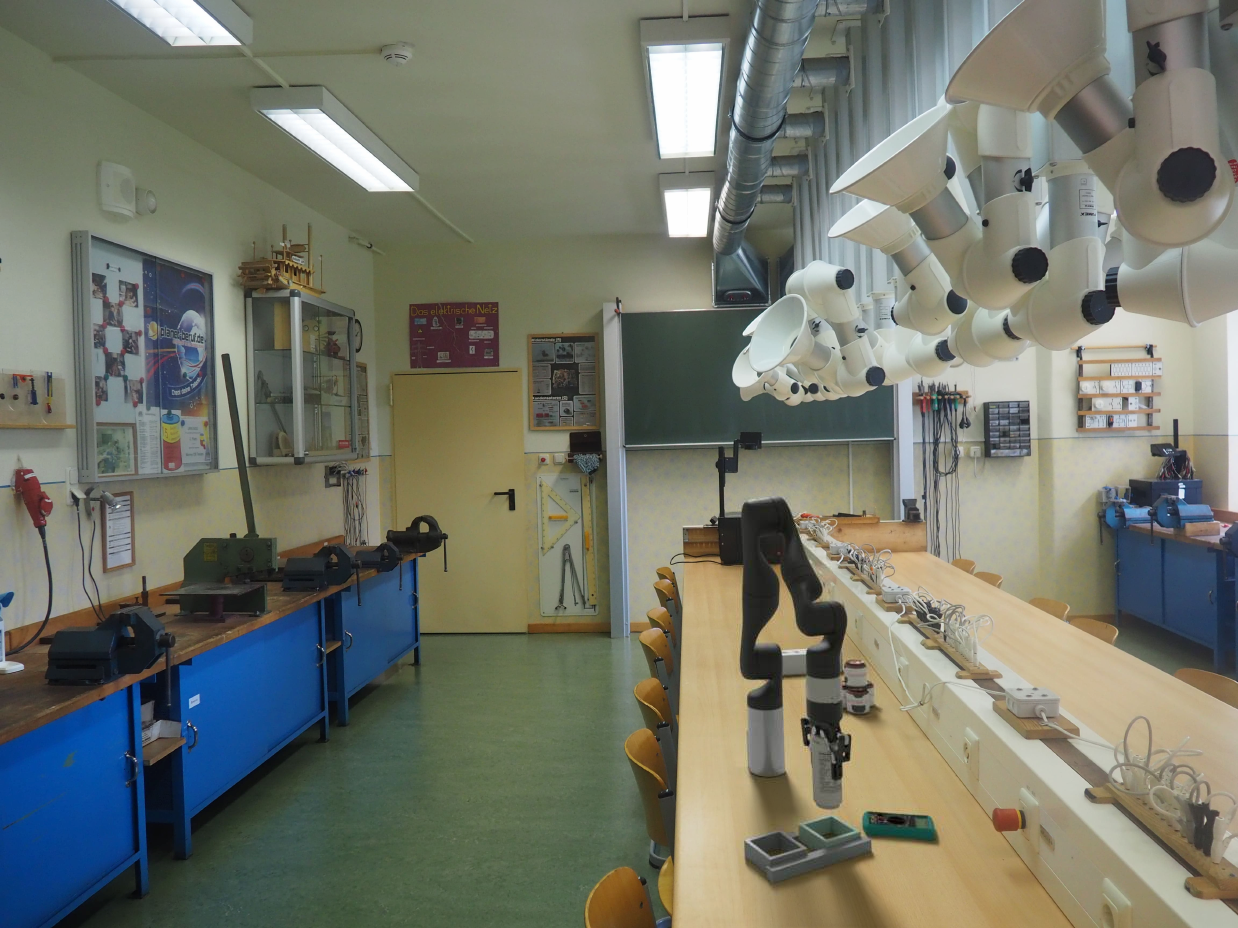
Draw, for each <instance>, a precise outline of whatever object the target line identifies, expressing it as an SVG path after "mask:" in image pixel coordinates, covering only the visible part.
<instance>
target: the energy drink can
mask: <svg viewBox="0 0 1238 928" xmlns="http://www.w3.org/2000/svg"><path fill="white" fill-rule="evenodd" d="M830 746H831V747H836V746H838V743H837V742H836V743H830ZM811 750H812V765H811V772H812V773H811V774H812V776H811V778H812V800H813V802H814V803H815V806H817V807H818V808H820V809H822V810H829V811H830V810H833V811H834V810H837V809H839V808H840V806H841V804H842V803H843V784H842V783H843V778H842V779H841V780H837V781H834V780H833V779H832V773H831V763H832V761H831V757H830V752H828V751H827V747H826V744H825V741H824V739H823V738H821V736H820V735H818V734H817V735H814V737H813V739H812V741H811ZM837 751H838V750H835V751H834V753H835V756H836V757H837Z"/></svg>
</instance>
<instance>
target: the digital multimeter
mask: <svg viewBox="0 0 1238 928" xmlns="http://www.w3.org/2000/svg"><path fill="white" fill-rule="evenodd" d="M861 817H862V818H861V819H862V829H863V832H864V833H865V836H875V837H876V836H877V837H890V838H903V839H914V840H924V841H935V840H936V831H935V830H936V829H935V823H934V821H933V818H932V817H931V816H930V815H929V814H928V815H925V814H909V813H908V814H907V813H895V812H893V813H892V812H885V811H883V812H881V811H872V810H871V811H870V810H866V811H864V813H863V814H862V816H861Z"/></svg>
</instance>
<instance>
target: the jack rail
mask: <svg viewBox="0 0 1238 928" xmlns="http://www.w3.org/2000/svg"><path fill="white" fill-rule="evenodd" d="M831 833H832V834H834V835H836V836H833V837H831V838H828V839H827V838H825V837H824V836H825V835H828V834H831ZM800 842H801V843H800ZM802 843H803V844H804V845H805V846H804V845H803V844H802ZM743 845H744V847H743V849H744V857H745V858H746V859H747V860H748V861H750V862H751V863H752V864H754V865H755V866H756V867H757V868H758V869H759V870H761V871H762V872H764V874H766V879H767V880H768V881H769V882H770V883H772V884H776V883H778V882H779V883H780V882H781V881H784V880H788V879H791V878H794V877H796V876H800V875H803V874H806V873H809V872H812V871H816V870H818V869H821V868H825V867H827V866H831V865H834V864H836V863H840V862H843V861H847V860H849V859H852V858H855V857H858V856H861V855H865V854H867V853H871V852H872V851H873V850H872V849H873V848H872V847H873V846H872V839H871V838H869V837H867V835H862V832H861V831H860V830H859V829H857V828H855V827H854V826H853V825H850V824H849V823H847V822H846V821H844V820H843V819H841V818H839V817H837V816H836V815H835V814H833V813H832V814H829V815H825V816H821V817H818V818H814V819H811V820H808V821H805V822H801V823H798V834H797V833H796V832H795V831H790V832H787V833H785V832H784V831H783V830H781V829H777V830H773V831H771V832H768V833H767V832H766V833H763V834H760V835H756V836H753V837H749V838H746V839H744V840H743ZM806 846H807V847H808V848H810V849H811V850H813V851H812V852H809V853H808V848H807V847H806ZM778 849H779V850H781V851H782V852H783V853H780V854H777V855H773V856H770V855H769V854H768V852H773V851H776V850H778Z"/></svg>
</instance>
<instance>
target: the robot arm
mask: <svg viewBox="0 0 1238 928" xmlns="http://www.w3.org/2000/svg"><path fill="white" fill-rule="evenodd" d="M740 518H741V519H740V520H741V521H740V522H741V538H742V539H741V540H742V553H743V557H742V560H743V564H742V565H743V567H742V585H741V590H742V591H741V603H742V604H741V606H742V607H741V610H742V611H741V612H742V621H741V622H742V624H741V625H742V627H741V628H742V629H741V637H740V638H741V640H740V651H739V668H740V669H739V670H740V674H741V675H742V678H744V679H745V680H749V681H763V680H764V681H765V680H767V681H766V682H765V683H764V684H763V685H761V686H759V687H757V688H755V689H752V690H751V691H749V692H748V693H747V696H746V707H747V709H746V710H747V714H746V715H747V731H746V744H747V745H746V748H747V749H746V751H747V766H748V768H749V772H751V773H752V774H753V775H756V776H760V777H765V778H766V777H767V778H768V777H769V778H770V777H771V778H772V777H779V776H782V775H784V774H785V772H786V750H785V749H786V748H785V725H784V724H785V721H784V720H785V719H784V702H783V701H784V700H783V696H784V694H783V692H784V690H783V677H784V675H783V657H782V651H781V650H782V649H781V646H780V645H779V644H778V643H776V642H766V643H765V642H763V643H762V642H761V643H759V642H758V643H756V642H757V640H758V638H759V635H760V633H761V632H762V631H763V629H764V628H765V627H766V626H767V624H768V623H769V622H770V621H771V619H772V618H773V617H774V615H775V613H776V612H777V610H778V608H779V605H780V594H781V593H780V591H781V590H780V589H781V588H780V587H781V583H780V578H779V576H778V574H777V573H776V571H775V570H774V568H773V567H772V566H771V564H770V563H769V562H768V560H766V557H765V556H764V555H763V552H762V551H761V546H760V541H761V538H765V537H771V536H777V535H780V536H781V537H782V538H783V540H784V546H783V547H784V548H783V552H782V554H781V555H782V556H781V558H780V567H779V569H780V575H781V578H782V580H783V583H784V584H785V586H786V588H787V590H788V593H789V594H790V596H791V599H792V600H791V601H792V604H793V610H794V616H795V623H796V627H797V629H798V631H800V633H802V634H803V635H804V636H806V637H811V638H812V637H822V639H821V641H819V643H815V644H814V645H812V646H809V647H808V648H806V649H807V651H806V674H805V675H806V676H805V702H806V708H805V709H806V717H805V716H804V717H801V718H800V725H801V727H800V728H801V733H802V741H803V742H802V743H803V745H804V746H805V747H807V748H808V751H809V752H810V764H811V766H812V750H811V741H812V739H813V737H814V735H817V734H818V735H820V736H821V738H823V739H824V741H825V744H826V747H827V751H828V752H830V757H831V761H832V763H831V773H832V779H833V780H834V781H837V780H841V779H842V780H843V776H844V771H843V770H844V769H843V768H844V767H843V764H844V763H846V762H847V763H848V762H850V760H851V752H852V735H851V734H850V733H844V732H843V731H842V728H841V721H842V720H843V718H844V710H843V697H842V682H841V681H842V678H841V677H842V676H841V672H840V653H841V652H842V649H843V644H844V639H845V635H846V633H847V627H848V614H847V610H846V609H845V607H844V606H843V604H842V603H840V602H839V601H837V600H825V601H823V600H822V601H817V600H819V599H820V598H821V596H822V595H823V591H824V588H823V584H822V582H821V580H820V579H819V576H818V575H817V573H816V571H815V570H814V567H813V565H812V564H811V563H810V560H809V558H808V556H807V553H806V551H805V550H806V549H805V548H804V545H803V542H802V539H801V536H800V533H799V529H798V527H797V524H796V521H795V519H794V517H793V514H792V510H791V508H790V507H789V504H788V503H787V501H786V500H785V499H784V498H783V497H782V496H778V495H777V496H767V497H766V496H765V497H760V498H755V499H752V498H751V499H748V500H746V501H745V502H743V505H742V507H741V513H740ZM816 601H817V602H816ZM808 735H809V738H808ZM836 742H837V743H838V746H836V747H831V746H830V743H836ZM835 750H838V751H837V757H836V756H835V753H834V751H835Z"/></svg>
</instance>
